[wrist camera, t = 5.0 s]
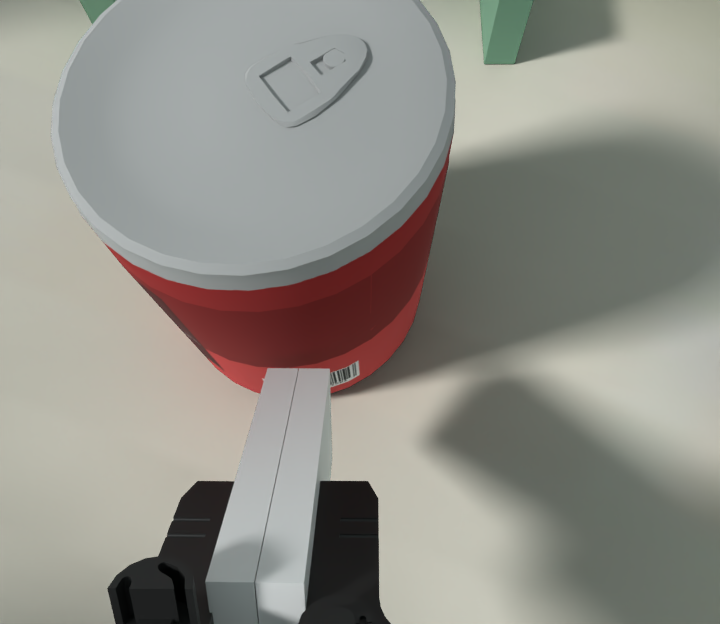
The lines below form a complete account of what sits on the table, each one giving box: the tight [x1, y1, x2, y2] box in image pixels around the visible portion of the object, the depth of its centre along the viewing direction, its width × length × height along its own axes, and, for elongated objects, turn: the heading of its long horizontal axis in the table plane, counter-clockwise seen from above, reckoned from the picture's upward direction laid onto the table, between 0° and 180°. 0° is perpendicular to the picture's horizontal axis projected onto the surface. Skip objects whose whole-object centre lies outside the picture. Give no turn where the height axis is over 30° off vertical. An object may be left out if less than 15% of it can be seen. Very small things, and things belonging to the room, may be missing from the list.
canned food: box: [51, 0, 456, 393], centre depth 18 cm, size 8×8×11 cm
